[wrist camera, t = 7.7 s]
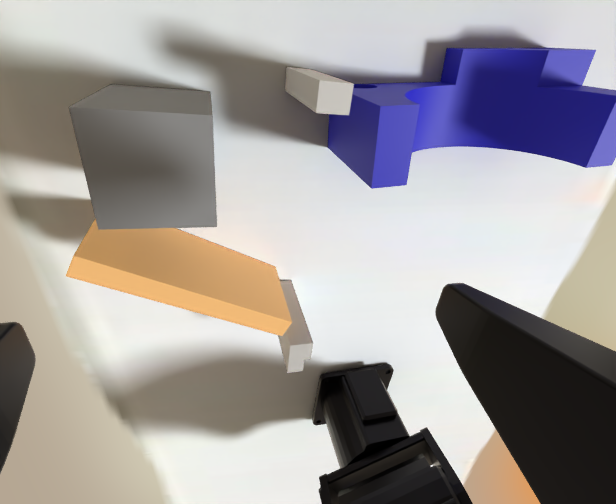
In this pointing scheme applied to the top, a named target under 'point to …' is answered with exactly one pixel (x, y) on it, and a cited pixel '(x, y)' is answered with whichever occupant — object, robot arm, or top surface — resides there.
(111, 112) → the gray rectangular block
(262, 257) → the top surface
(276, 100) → the top surface
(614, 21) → the top surface
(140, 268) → the door
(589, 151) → the cable clip
